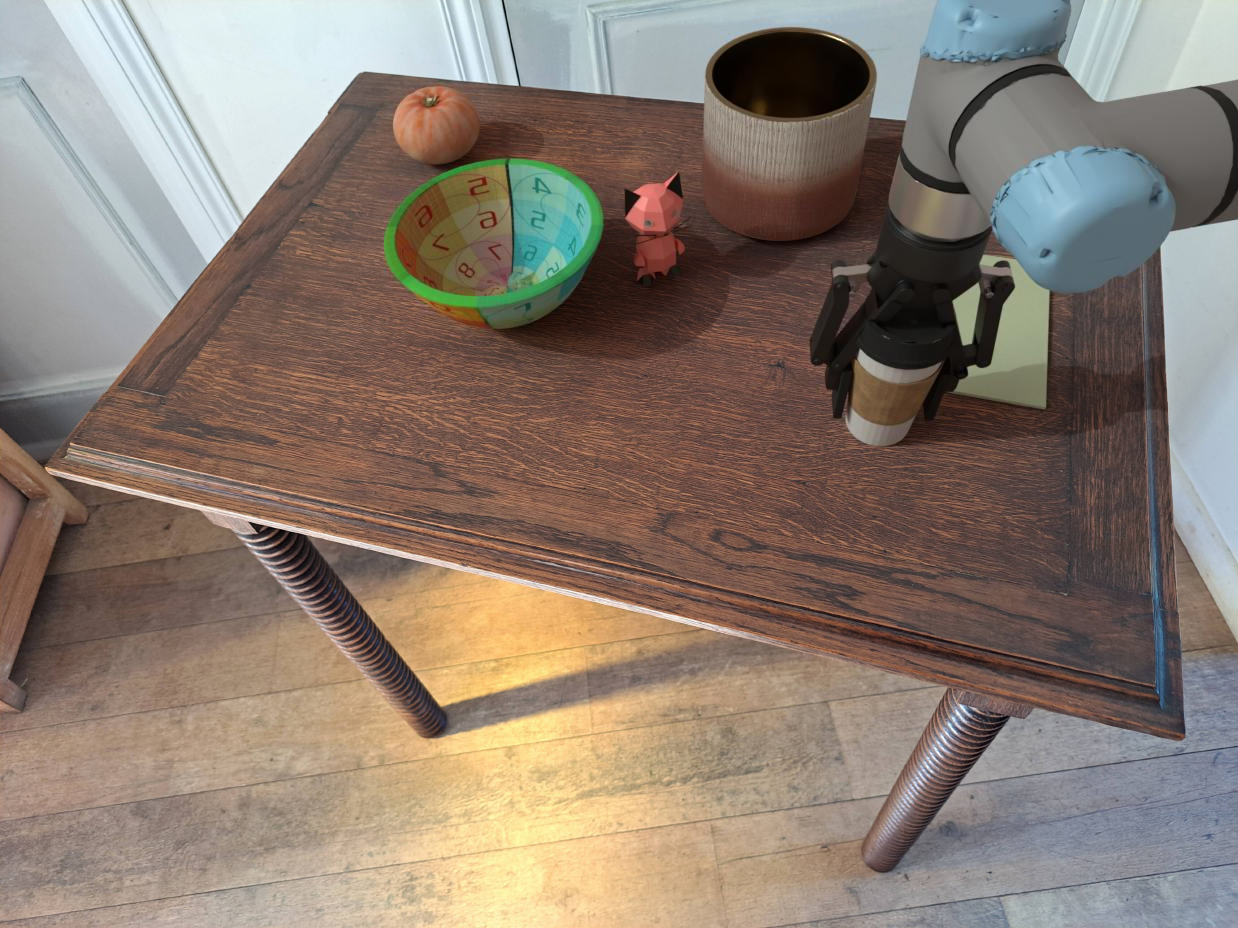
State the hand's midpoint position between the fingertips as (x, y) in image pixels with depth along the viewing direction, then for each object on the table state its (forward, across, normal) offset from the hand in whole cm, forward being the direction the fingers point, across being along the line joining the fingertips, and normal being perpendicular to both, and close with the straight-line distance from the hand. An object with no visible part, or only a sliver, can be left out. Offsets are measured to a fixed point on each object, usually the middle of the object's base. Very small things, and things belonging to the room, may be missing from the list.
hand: (881, 407), depth 80 cm
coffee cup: (+2, 0, 0) cm, 2 cm away
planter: (+2, +9, -33) cm, 34 cm away
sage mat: (+2, -11, -13) cm, 17 cm away
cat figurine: (+2, +22, -21) cm, 30 cm away
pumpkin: (+2, +51, -42) cm, 66 cm away
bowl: (+2, +38, -16) cm, 41 cm away
